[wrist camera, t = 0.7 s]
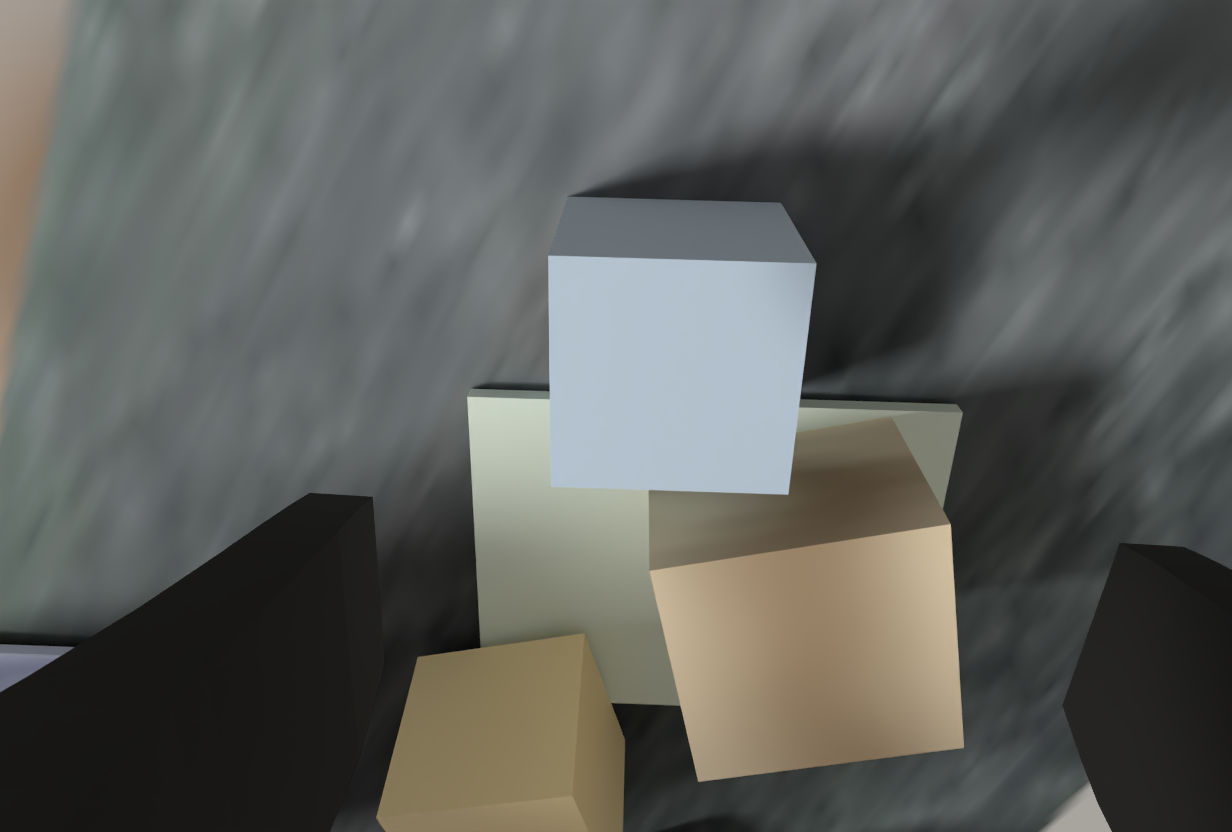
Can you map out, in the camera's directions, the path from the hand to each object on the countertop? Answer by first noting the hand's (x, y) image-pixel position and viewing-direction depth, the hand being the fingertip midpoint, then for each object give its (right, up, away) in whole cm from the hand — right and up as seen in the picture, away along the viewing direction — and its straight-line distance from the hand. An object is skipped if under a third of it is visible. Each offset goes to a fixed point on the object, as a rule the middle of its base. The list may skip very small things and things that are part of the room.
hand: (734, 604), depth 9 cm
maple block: (+2, -1, +11) cm, 11 cm away
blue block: (0, +4, +9) cm, 10 cm away
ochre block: (-3, -5, +13) cm, 14 cm away
